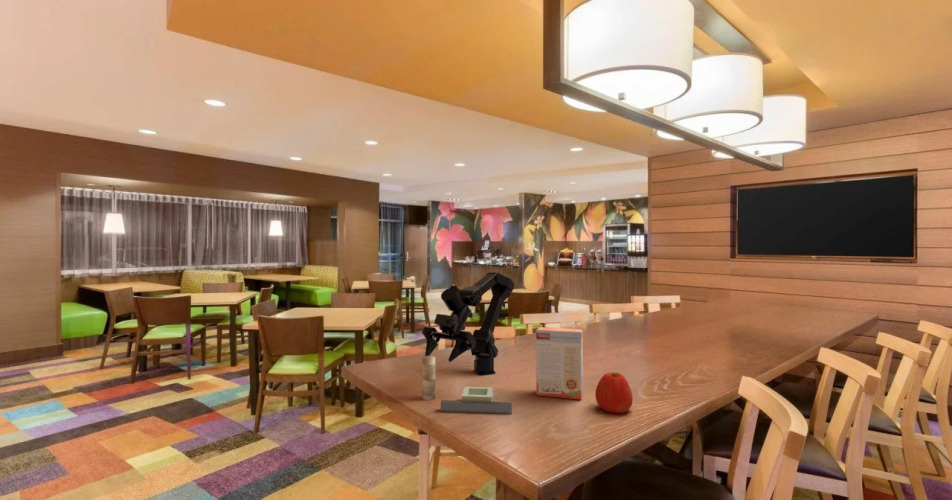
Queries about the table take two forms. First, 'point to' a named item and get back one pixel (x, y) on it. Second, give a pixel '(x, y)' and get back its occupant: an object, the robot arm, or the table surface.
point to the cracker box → (559, 362)
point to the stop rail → (476, 407)
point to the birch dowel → (428, 377)
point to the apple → (614, 393)
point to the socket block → (478, 394)
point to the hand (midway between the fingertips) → (437, 359)
